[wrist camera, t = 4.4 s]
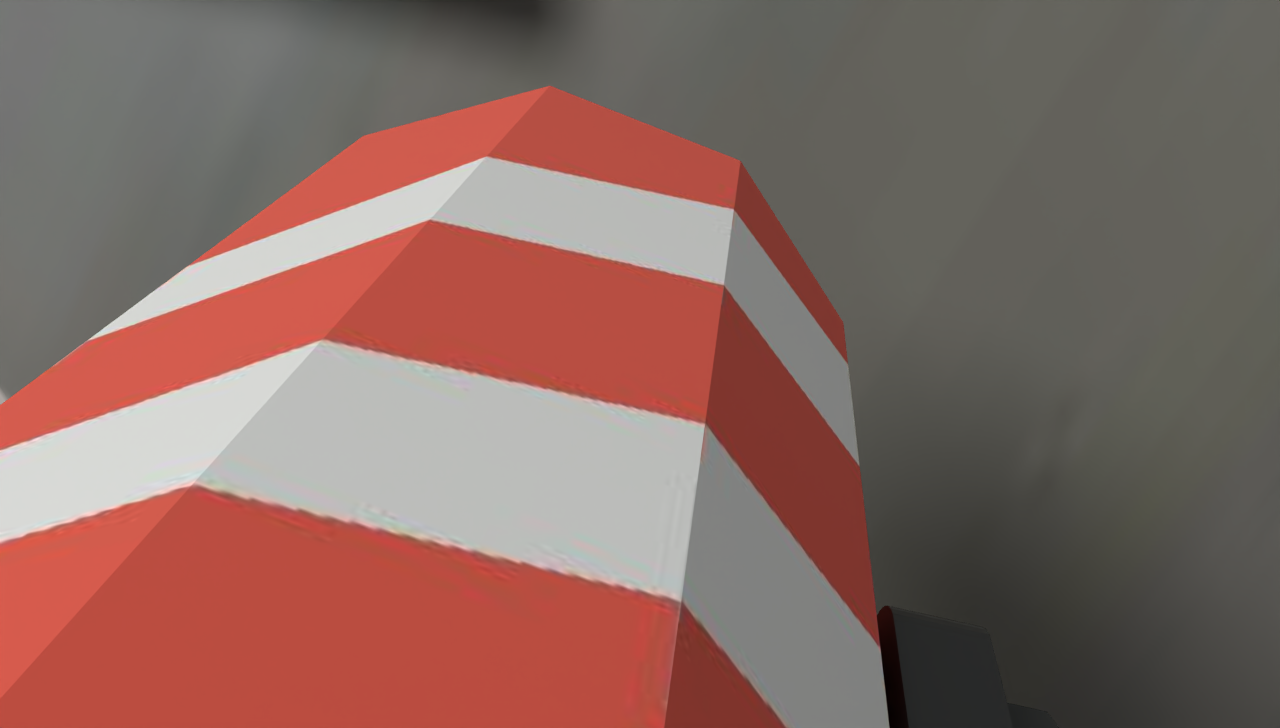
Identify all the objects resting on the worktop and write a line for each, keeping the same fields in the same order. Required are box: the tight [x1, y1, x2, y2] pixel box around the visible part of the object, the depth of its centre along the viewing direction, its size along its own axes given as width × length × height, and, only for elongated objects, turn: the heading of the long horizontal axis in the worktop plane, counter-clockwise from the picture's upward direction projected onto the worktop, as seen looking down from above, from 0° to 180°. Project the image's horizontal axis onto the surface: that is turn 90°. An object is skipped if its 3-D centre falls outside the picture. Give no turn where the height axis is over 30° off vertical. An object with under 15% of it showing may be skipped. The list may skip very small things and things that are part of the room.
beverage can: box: [0, 86, 889, 728], centre depth 8 cm, size 6×6×12 cm
